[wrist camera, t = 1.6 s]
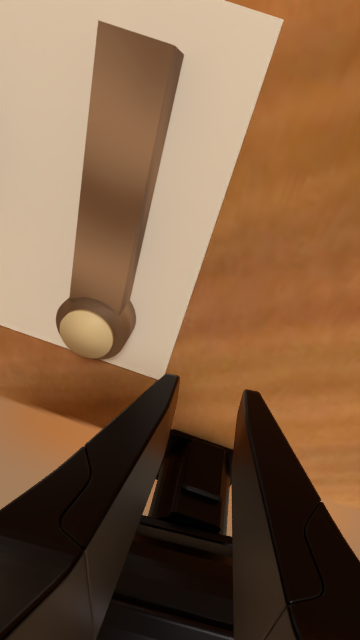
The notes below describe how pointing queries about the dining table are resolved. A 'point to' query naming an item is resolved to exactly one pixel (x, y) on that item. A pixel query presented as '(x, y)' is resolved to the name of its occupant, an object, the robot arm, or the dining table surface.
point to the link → (120, 172)
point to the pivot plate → (68, 156)
